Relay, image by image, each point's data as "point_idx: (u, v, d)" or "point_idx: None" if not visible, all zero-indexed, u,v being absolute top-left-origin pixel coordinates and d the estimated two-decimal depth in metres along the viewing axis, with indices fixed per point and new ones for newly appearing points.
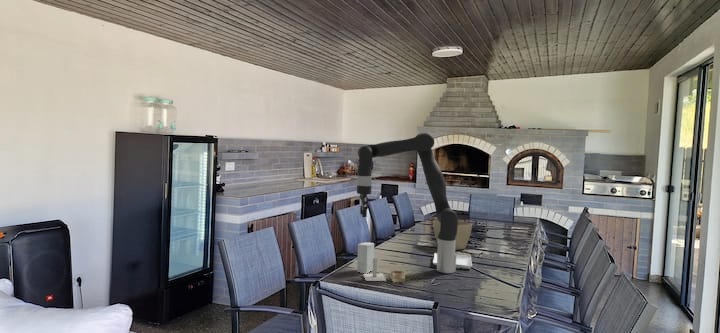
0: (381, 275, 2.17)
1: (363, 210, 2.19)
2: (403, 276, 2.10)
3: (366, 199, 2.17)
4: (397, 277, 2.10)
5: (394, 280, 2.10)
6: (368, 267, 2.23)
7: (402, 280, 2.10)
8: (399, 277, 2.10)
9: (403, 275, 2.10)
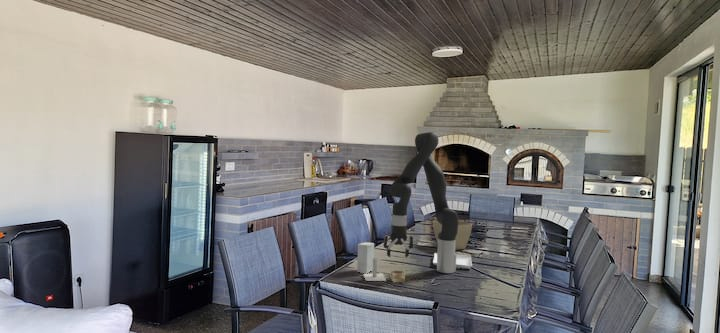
0: (381, 275, 2.17)
1: None
2: (403, 276, 2.10)
3: None
4: (397, 277, 2.10)
5: (394, 280, 2.10)
6: (368, 267, 2.23)
7: (402, 280, 2.10)
8: (399, 277, 2.10)
9: (403, 275, 2.10)
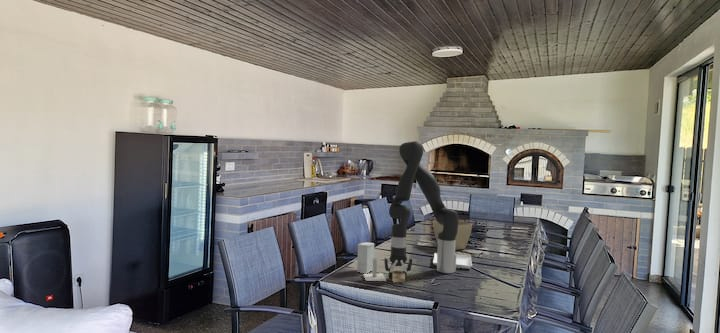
0: (381, 275, 2.17)
1: (406, 272, 2.13)
2: (403, 276, 2.10)
3: None
4: (397, 277, 2.10)
5: (394, 280, 2.10)
6: (368, 267, 2.23)
7: (402, 280, 2.10)
8: (399, 277, 2.10)
9: (403, 275, 2.10)
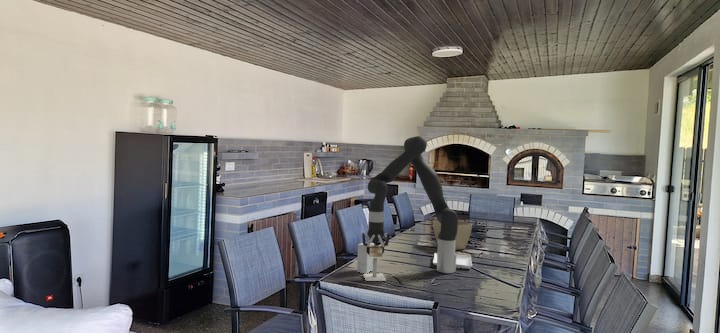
0: (381, 275, 2.17)
1: None
2: (381, 251, 2.11)
3: None
4: (374, 252, 2.11)
5: (371, 254, 2.11)
6: (368, 267, 2.23)
7: (379, 254, 2.11)
8: (376, 251, 2.11)
9: (380, 250, 2.11)
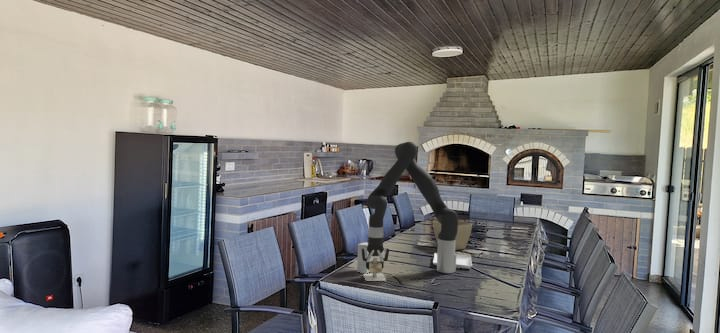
0: (381, 275, 2.17)
1: (383, 262, 2.14)
2: (380, 266, 2.12)
3: None
4: (374, 267, 2.11)
5: (371, 270, 2.11)
6: None
7: (379, 270, 2.12)
8: (376, 267, 2.12)
9: (380, 265, 2.12)
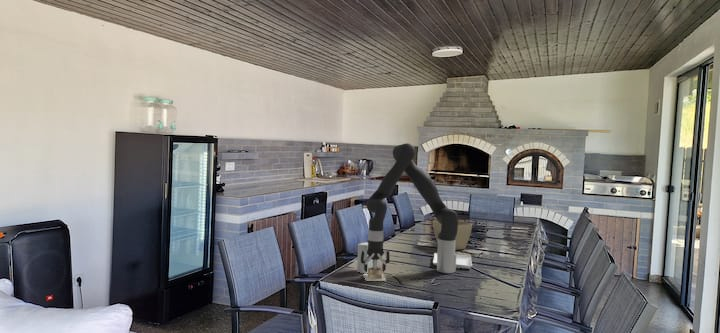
0: None
1: (385, 264, 2.14)
2: (380, 272, 2.12)
3: None
4: (374, 273, 2.12)
5: (371, 276, 2.11)
6: None
7: (379, 276, 2.12)
8: (376, 273, 2.12)
9: (380, 271, 2.12)
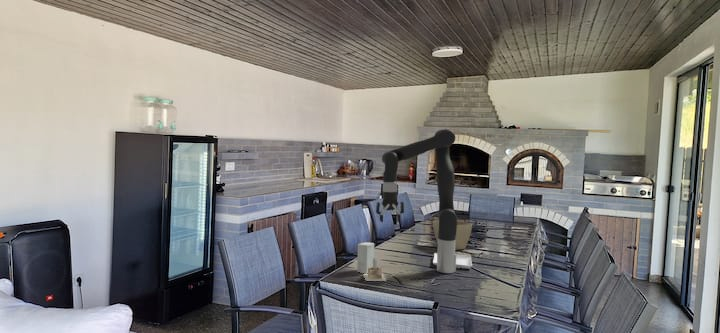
0: None
1: (400, 214, 2.24)
2: (380, 272, 2.12)
3: None
4: (374, 273, 2.12)
5: (371, 276, 2.11)
6: None
7: (379, 276, 2.12)
8: (376, 273, 2.12)
9: (380, 271, 2.12)
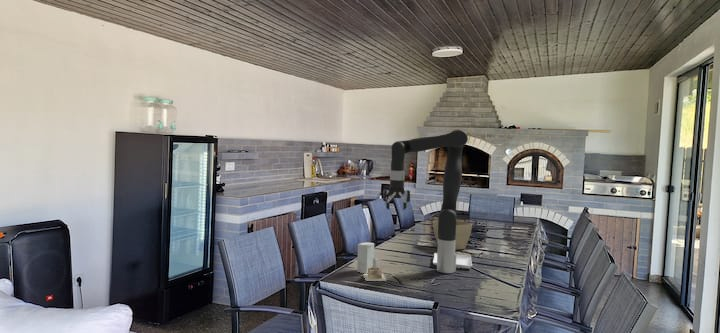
0: None
1: (406, 203, 2.30)
2: (380, 272, 2.12)
3: None
4: (374, 273, 2.12)
5: (371, 276, 2.11)
6: None
7: (379, 276, 2.12)
8: (376, 273, 2.12)
9: (380, 271, 2.12)
